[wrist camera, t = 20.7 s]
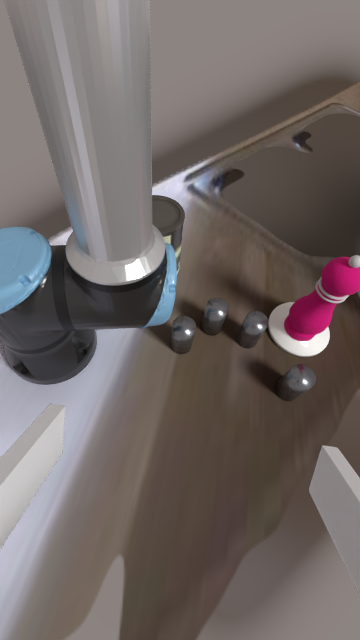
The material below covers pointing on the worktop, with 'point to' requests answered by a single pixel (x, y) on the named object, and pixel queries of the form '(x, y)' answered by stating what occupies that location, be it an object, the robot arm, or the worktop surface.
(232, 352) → the worktop surface
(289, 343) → the disc
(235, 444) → the worktop surface
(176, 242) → the coffee can
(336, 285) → the pepper mill
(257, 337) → the posts
